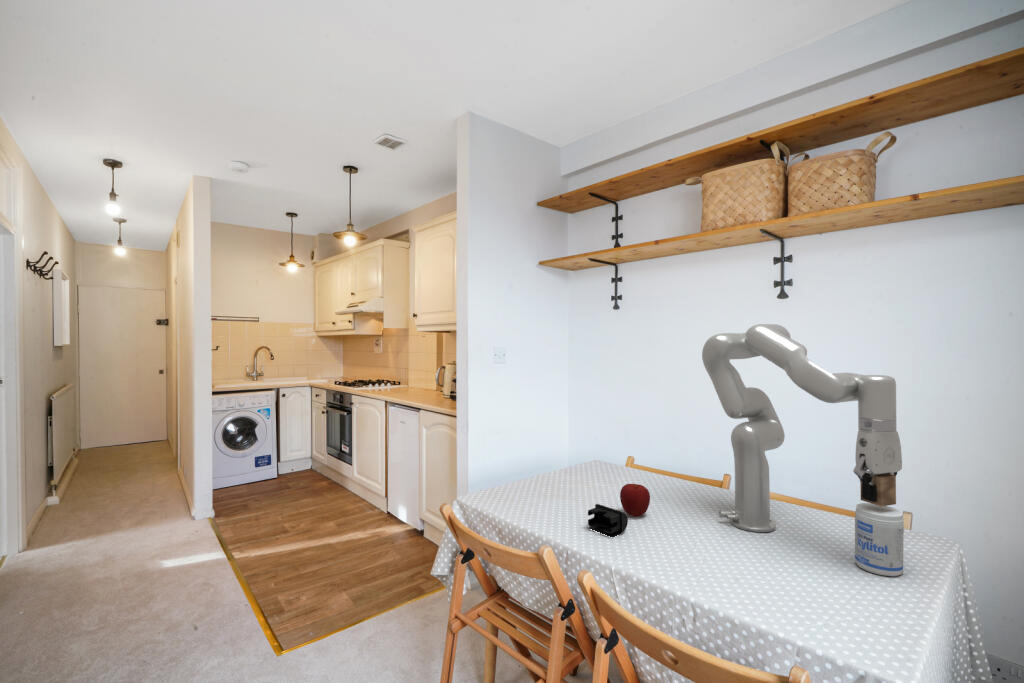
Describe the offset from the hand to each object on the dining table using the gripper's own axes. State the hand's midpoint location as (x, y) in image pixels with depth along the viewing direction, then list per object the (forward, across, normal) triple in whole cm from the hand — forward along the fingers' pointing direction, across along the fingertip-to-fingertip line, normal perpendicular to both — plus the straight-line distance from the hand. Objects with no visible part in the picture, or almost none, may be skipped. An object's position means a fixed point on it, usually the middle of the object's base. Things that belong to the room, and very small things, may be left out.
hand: (877, 498), depth 118 cm
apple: (+18, -36, +52) cm, 66 cm away
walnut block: (+1, 0, 0) cm, 1 cm away
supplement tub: (+18, 0, 0) cm, 18 cm away
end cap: (+18, -51, +43) cm, 69 cm away
